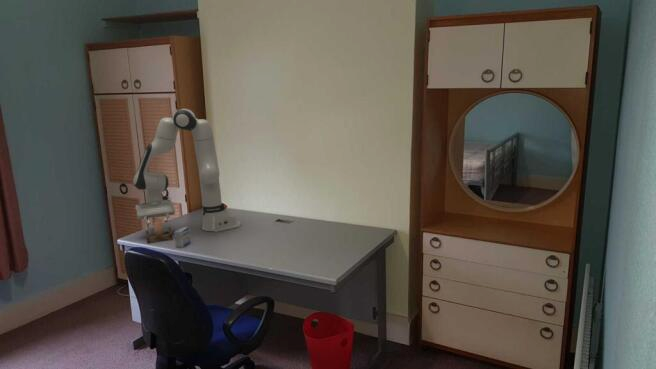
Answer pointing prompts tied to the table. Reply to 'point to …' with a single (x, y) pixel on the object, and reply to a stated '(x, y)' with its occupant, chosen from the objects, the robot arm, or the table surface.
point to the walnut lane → (159, 237)
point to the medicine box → (182, 237)
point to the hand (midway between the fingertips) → (157, 222)
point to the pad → (163, 230)
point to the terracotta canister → (158, 228)
